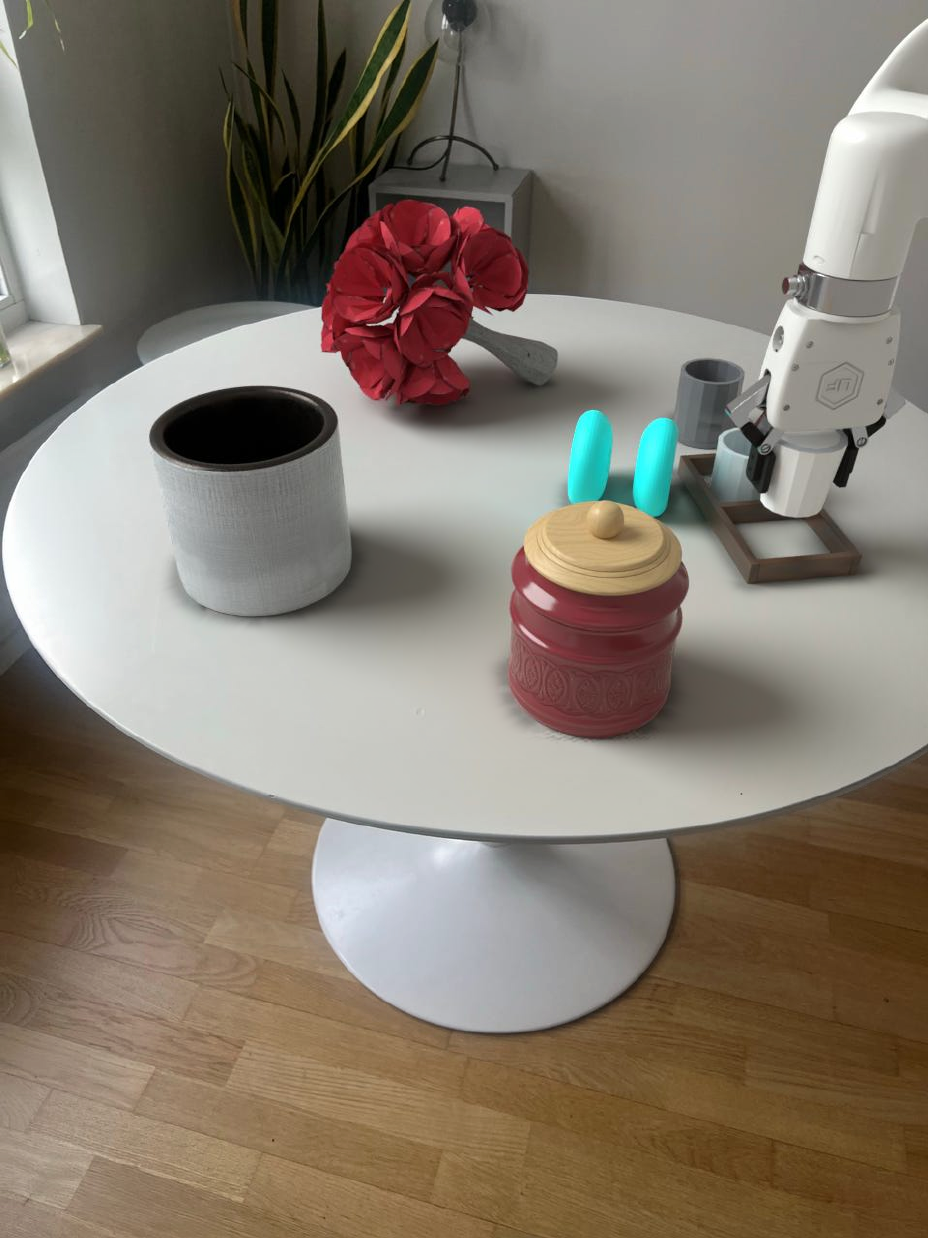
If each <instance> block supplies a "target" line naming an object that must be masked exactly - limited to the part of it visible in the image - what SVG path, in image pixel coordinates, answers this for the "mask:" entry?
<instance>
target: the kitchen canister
mask: <svg viewBox="0 0 928 1238" xmlns="http://www.w3.org/2000/svg"><path fill="white" fill-rule="evenodd" d="M679 540H680V539H679V538H678V537H677V535H676V534H675V533H674V532H673V531H672V530H671V529H670V527H669V526H667V525H666V524H664V523H663V522H662V521H660V520H659V519H658V518H656V517H652V516H650V515H648V514H646V513H645V512H643V511H641V510H639V509H637V507H634V506H631V505H628V504H624V503H620V502H614V501H611V500H599V501H588V502H580V503H576V504H572V503H571V504H569V505H566V506H564V507H560V508H557V509H555V510H552V511H549V512H547V513H546V514H543V515H542V516H540V517H539V518H537V519H536V520H535V521H534V522H533V523H532V524H531V525H530V526H529V527H528V529H527V530H526V533H525V536H524V539H523V544H522V545H521V546H520V548H519V549H518V550H517V552H516V554H515V555H514V557H513V560H512V563H511V567H510V575H511V580H512V581H511V582H512V584H513V586H514V589H513V591H512V593H511V596H510V600H509V614H510V618H511V624H510V625H511V626H510V627H511V629H510V650H509V654H508V658H507V667H506V668H507V671H506V673H507V674H506V677H507V683H508V687H509V689H510V691H511V694H512V696H513V699H514V701H515V702H516V703H517V704H518V706H519V707H520V709H521V710H522V711H523V712H524V713H526V714H527V715H528V716H529V717H530V718H531V719H532V720H534V721H535V722H537V723H539V724H540V725H542V726H544V727H546V728H548V729H551V730H553V731H556V732H559V733H562V734H565V735H568V736H573V737H579V738H586V739H587V738H588V739H589V738H590V739H591V738H592V739H604V738H611V737H619V736H622V735H625V734H628V733H632V732H634V731H636V730H638V729H640V728H642V727H644V726H645V725H647V724H648V723H650V722H651V721H652V720H653V719H654V718H655V717H656V716H657V715H658V714H659V713H660V711H661V710H662V709H663V707H664V706H665V704H666V702H667V699H668V697H669V694H670V688H671V684H672V664H673V660H674V655H675V654H674V653H675V649H676V644H677V639H678V636H679V635H680V633H681V629H682V626H683V619H684V617H683V609H682V606H681V605H682V604H683V603H684V601H685V599H686V597H687V596H688V592H689V589H690V577H689V573H688V570H687V568H686V565H685V563H684V562H683V561H682V560H683V549H682V545H681V542H680V541H679Z"/></svg>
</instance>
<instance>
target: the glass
mask: <svg viewBox="0 0 928 1238" xmlns="http://www.w3.org/2000/svg"><path fill="white" fill-rule="evenodd" d="M765 434H766V433H765ZM715 449H716V451H715V453H716V455H715V460H714V465H713V470H712V474H711V477H710V482H709V485H708V487H709V489H710V490H711V492H712V493H713V495H714V496H715V498H716V499H717V501H718V502H719V503H725V502H738V501H751V500H760V496H761V494H759V493H758V491H757V490H756V489H755V487H754V486H753V485H752V483H751V482H750V481H749V480H748V478H747V476H746V467H747V463H748V458H749V454H750V449H751V443H750V442H749V440H748V439H747V438H746V437H745V436H744V435H743V434H742V432H741V431H740V430H739V428H738V427H734V428H733V429H729V430H726V431H724V432H723V433H722V434H721V435H720V436H719V439H718V444H717V448H715Z"/></svg>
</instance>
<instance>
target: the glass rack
mask: <svg viewBox="0 0 928 1238" xmlns="http://www.w3.org/2000/svg"><path fill="white" fill-rule="evenodd" d="M715 455H716V452H711V453H698V454H684V455H680V456H679V461H678V468H677V475H678V476H679V478H680V480H681V481H682V483H683V484H684V486H685V488H686V489H687V491H688V493H689V494H690V495H691V498H692V499H693V501H694V502H695V504H696V505H697V507H698V508H699V510H700V511H701V513H702V515H703V517H704V518H705V519H706V521H707V522H708V525H709V526H710V528H711V529H712V531H713V532H714V534H715V535H716V537H717V538H718V540H719V542H720V543H721V545H722V546H723V548H724V549H725V551H726V553H727V554H728V556H729V558H730V559H731V561H732V562H733V564H734V565H735V567H736V569H737V570H738V572H739V574H740V575H741V576H742V578H743V580H744V581H745V583H746V584H747V585H754V584H765V583H775V582H787V581H788V582H789V581H798V580H799V581H800V580H809V579H810V580H811V579H821V578H833V577H846V576H856V575H857V574H858V570H859V568H860V564H861V561H862V558H863V554H862V553H861V552H860V550H859V549H858V548H857V547H856V546H855V544H854V543H853V542H852V541H851V540H850V539H849V537H848V536H847V535H846V534H845V532H844V531H843V530H842V529H841V528H840V526H839V525H838V524H837V523H836V522H835V520H834V519H833V518H832V517H831V516H830V514H829V513H828V511H826V509H825V508H824V506H823V507H822V509H821V510H820V511H819V512H818V514H815V515H813V516H810V517H801V518H795V517H788V516H783V515H780V514H777V513H774V512H772V511H771V510H769V509H768V508H766V507H765V506H764V505H763V504H762V502H761V501H760V500H751V501H738V502H725V503H719V502H718V501H717V499H716V498H715V496H714V495H713V493H712V492H711V490H710V489H709V485H708V484H707V482H706V481H705V480H704V477H702V476H706V475H707V476H709V475H712V470H713V465H714V460H715ZM803 519H804V521H805V522H806V523H807V524H808V526H809V527H810V528H811V530H812V531H813V532H814V533H815V535H816V536H817V537H818V539H819V541H821V542H822V544H823V545H824V546H825V547H826V548H827V550H828V551H829V553H827V552H826V553H817V554H803V555H793V556H782V557H781V556H779V557H767V558H757V557H756V556H755V554H754V553H753V552H752V550H751V548H750V546H748V544H747V542H746V540H745V539H744V538H743V537H742V535H741V534H740V532H739V531H738V529H737V528H736V525H740V524H752V523H753V524H754V523H764V522H766V523H767V522H777V521H778V522H779V521H791V520H792V521H793V520H803Z"/></svg>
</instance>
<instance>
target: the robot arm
mask: <svg viewBox="0 0 928 1238" xmlns="http://www.w3.org/2000/svg"><path fill="white" fill-rule="evenodd" d="M921 219H928V18H926V19H925V20H924V21H923V22H921V23H919V25H917V26H916V27H915V28H914V29H912V31H911V32H909V34H907V35H906V36H905V37H904V38H903V39H902V40H901V41H900V42H899V43H898V44H897V46H896V47H895V48H894V49H893V50H892V52H891V53H890V54H889V55H888V57H887V58H886V59H885V61H884V62H883V63H882V64H881V66H880V67H879V69H878V70H876V73H874V75H873V76H872V78H871V79H870V80H869V82H868V83H867V85H866V86H865V87H864V88H863V90H862V92H861V93H860V94H859V96H858V97H857V99H856V100H855V102H854V103H853V105H852V106H851V108H850V110H849V111H848V113H847V115H846V116H845V117H844V118H842V119H841V120H840V121H838V122H837V124H836V125H835V127H834V128H833V131H832V133H831V135H830V137H829V141H828V146H827V148H826V153H825V157H824V162H823V165H822V170H821V175H820V180H819V184H818V189H817V194H816V197H815V202H814V207H813V212H812V215H811V220H810V224H809V230H808V234H807V239H806V243H805V248H804V253H803V256H802V260H801V262H800V263H799V264H798V269H797V274H794V275H792V276H785V277H784V278H783V280H782V283H781V291H782V294H783V295H792V296H793V298H791V299H787V300H786V302H785V304H784V306H783V308H782V310H781V312H780V314H779V316H778V318H777V322H776V324H775V326H774V329H773V332H772V334H771V336H770V339H769V343H768V345H767V349H766V352H765V355H764V358H763V361H762V364H761V368H760V373H759V375H758V376H759V377H758V380H757V381H756V382H755V383H754V384H752V385H751V386H749V387H748V388H747V389H746V390H744V391H743V392H741V395H739V396H738V397H737V398H736V399H734V400H733V401H732V402H730V403H729V404H728V405H727V406H726V408H725V411H726V413H727V414H728V415H729V417H730V418H731V419H732V421H733V422H734V423H735V426H736V428H739V430H740V431H741V432H742V434H743V435H744V436H745V437H746V438H747V439H748V440H749V442H750V443H751V449H750V454H749V458H748V463H747V467H746V476H747V478H748V480H749V481H750V482H751V483H752V485H753V486H754V487H755V489H756V490H757V491H758V493H759V494H763V493H766V492H768V489H769V485H770V481H771V477H772V473H773V468H774V464H775V460H776V455H775V454H774V452H773V451H772V449H773V448H774V446H775V445H776V443H777V442H778V441H779V439H780V438H781V437H782V435H783V434H784V433H785V432H803V431H819V430H834V429H841V430H842V431H843V432H844V433H845V434H846V435H847V437H848V445H847V447H846V450H845V452H844V455H843V457H842V460H841V462H840V465H839V467H838V470H837V472H836V475H835V477H834V480H833V482H832V484H834V486H836V487H838V488H839V489H841V488H847V485H848V481H849V479H850V475H851V474H852V473H853V471H854V468H855V464H856V461H857V457H858V454H859V451H860V449H862V448H865V447H866V446H867V445H868V443H869V438H871V437H872V436H873V435H875V433H877V432H878V431H879V430H881V429H882V428H883V427H884V426H885V425H886V424H887V423H886V422H887V420H890V419H891V418H892V417H894V415H896V414H897V413H898V412H899V411H900V410H901V409H902V408H903V407H905V405H906V399H905V398H904V397H903V395H901V393H900V392H899V391H898V390H897V389H896V387H894V386H893V384H892V382H893V378H894V372H895V368H896V362H897V356H898V350H899V343H900V331H901V318H902V317H901V316H902V315H901V313H902V312H901V309H900V307H898V306H897V305H895V304H894V302H895V299H896V296H897V292H898V288H899V285H900V283H901V282H900V281H901V279H902V275H903V271H904V267H905V264H906V260H907V257H908V253H909V250H910V246H911V243H912V240H913V236H914V233H915V229H916V226H917V224H918V222H919V221H920V220H921ZM754 409H757V410H759V411H761V412H762V413H761V414H760V415H759V417H758V418H757V420H756V421H755V422H753V421H752V419H751V418H750V413H751V412H752V411H754ZM770 426H771V427H770ZM765 433H766V434H765Z"/></svg>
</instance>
